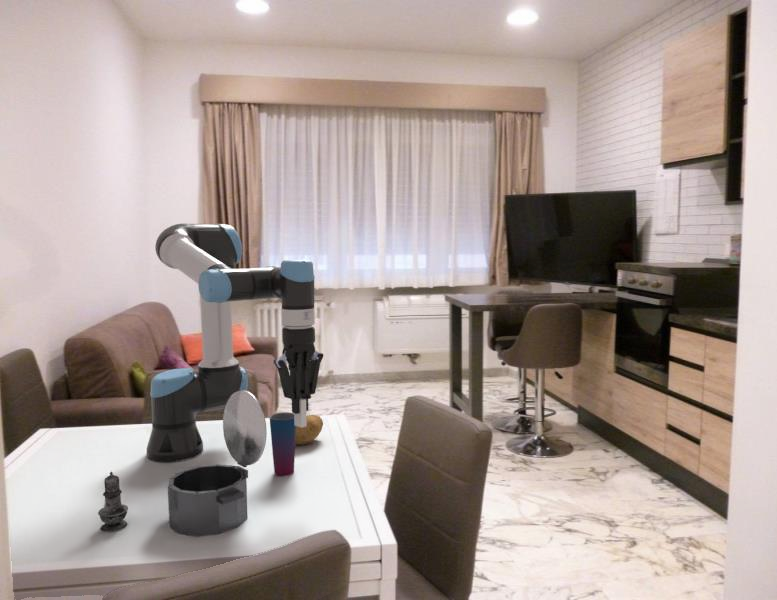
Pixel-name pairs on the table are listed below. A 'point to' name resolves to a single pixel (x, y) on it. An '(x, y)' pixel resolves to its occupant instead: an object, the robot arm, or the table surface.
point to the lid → (244, 428)
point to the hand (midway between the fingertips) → (300, 425)
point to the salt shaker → (113, 506)
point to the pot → (207, 499)
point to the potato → (309, 430)
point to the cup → (283, 442)
